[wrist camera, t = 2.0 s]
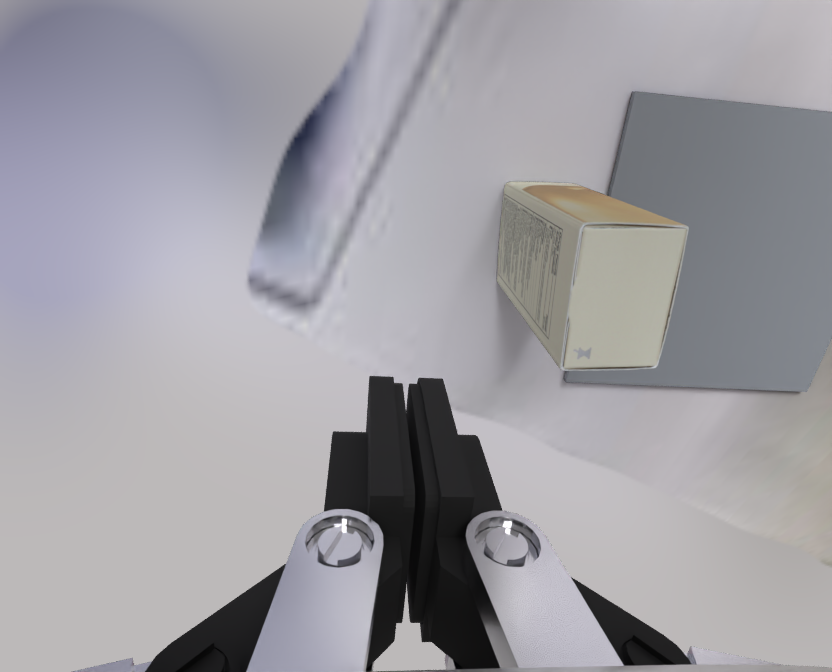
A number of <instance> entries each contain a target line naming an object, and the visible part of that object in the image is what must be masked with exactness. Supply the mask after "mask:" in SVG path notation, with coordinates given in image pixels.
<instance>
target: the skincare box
mask: <svg viewBox="0 0 832 672" xmlns="http://www.w3.org/2000/svg"><path fill="white" fill-rule="evenodd" d="M688 231H689V227H688V226H686V225H684V224H681V223H679V222H676V221H673V220H670V219H668V218H665V217H662V216H659V215H657V214H654V213H652V212H649V211H646V210H644V209H641V208H638V207H636V206H633V205H631V204H628V203H625V202H623V201H620V200H617V199H615V198H612V197H609V196H607V195H604V194H601V193H598V192H596V191H593V190H590V189H588V188H585V187H582V186H580V185H577V184H574V183H556V182H508V183H506V184H505V187H504V195H503V204H502V214H501V224H500V237H499V251H498V269H497V282H498V284H499V285H500V286H501V288H502V289H503V291H504V292H505V293H506V295H507V296H508V297H509V299H510V300H511V302H512V303H513V304H514V306H515V307H516V309H517V310H518V311H519V313H520V314H521V315H522V317H523V318H524V320H525V321H526V322H527V324H528V325H529V327H530V328H531V329H532V331H533V332H534V334H535V335H536V336H537V338H538V339H539V340H540V342H541V343H542V345H543V346H544V347H545V349H546V350H547V351H548V353H549V354H550V356H551V357H552V358H553V360H554V361H555V363H556V364H557V365H558V367H559V368H560V369H561V370H562V371H573V370H578V371H586V370H593V371H598V370H637V369H652V368H656V367H657V366H658V363H659V359H660V356H661V353H662V349H663V345H664V342H665V338H666V334H667V330H668V327H669V322H670V318H671V313H672V309H673V305H674V300H675V295H676V291H677V286H678V281H679V276H680V272H681V267H682V262H683V256H684V252H685V246H686V241H687V236H688Z"/></svg>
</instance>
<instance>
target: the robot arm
mask: <svg viewBox="0 0 832 672" xmlns="http://www.w3.org/2000/svg"><path fill="white" fill-rule="evenodd" d="M406 584H407V591H408V604H409V616H410V622H411V623H420V627H421V637H422V642H432V643H434V644H435V645H436V646H437V647H438V648H440V649H441V650H442V651H443V652H444V653H445V654H446V657H445V664H446V670H421V671H420V670H416V671H380V672H832V668H828V667H814V666H793V665H792V666H791V665H781V664H776V663H771V662H766V661H761V660H756V659H751V658H746V657H742V656H737V655H732V654H726V653H722V652H716V651H712V650H707V649H702V648H697V647H692V646H691V647H690V649H689V651H688V653H684V652H682V651H681V649H680V648H679V647H678V646H677V645H676V644H674V643H673V642H672V641H670V640H669V639H668V638H667V637H665V636H664V635H662V634H661V633H659V632H658V631H656V630H655V629H653V628H651V627H650V626H648V625H647V624H645V623H643V622H642V621H640V620H639V619H637V618H636V617H634V616H632V615H631V614H629V613H628V612H626V611H624V610H623V609H621V608H620V607H618V606H616V605H615V604H613V603H612V602H610V601H608V600H607V599H605V598H604V597H602V596H600V595H599V594H597V593H596V592H594V591H592V590H591V589H589V588H588V587H586V586H584V585H583V584H581V583H580V582H578V581H577V580H575V579H573V578H571V577H570V575H569V573H568V572H567V570H566V569H565V567H564V565H563V564H562V562H561V560H560V558H559V557H558V555H557V553H556V552H555V550H554V549H553V547H552V545H551V543H550V542H549V540H548V539H547V537H546V535H545V534H544V533H543V532H542V530H541V529H540V528H539V527H538V526H537V525H536V524H534V523H533V522H532V521H530V520H529V519H527V518H525V517H523V516H520V515H519V514H516V513H511V512H507V511H502V508H501V505H500V502H499V499H498V496H497V493H496V490H495V486H494V484H493V480H492V477H491V474H490V472H489V468H488V465H487V462H486V459H485V456H484V453H483V450H482V447H481V444H480V441H479V439H478V437H477V436H476V435H458V434H457V430H456V426H455V422H454V419H453V415H452V411H451V407H450V404H449V400H448V396H447V393H446V389H445V385H444V381H443V379H434V378H419V379H418V382H417V384H409V388H408V399H407V410H406V409H405V401H404V392H403V384H402V383H394V378H393V377H381V376H370V377H369V393H368V409H367V426H366V432H333V435H332V443H331V452H330V462H329V471H328V480H327V489H326V498H325V507H324V512H322V513H320V514H318V515H316V516H313V517H312V518H311V519H309V520H308V521H307V522H306V523H305V524H303V526H302V528H301V529H300V531H299V532H298V534H297V536H296V539H295V542H294V544H293V547H292V550H291V553H290V555H289V558H288V561H287V563H286V564H285V565H283V566H282V567H281V568H279V569H278V570H276V571H275V572H273V573H272V574H270V575H269V576H268V577H266V578H265V579H263V580H262V581H260V582H259V583H257V584H256V585H254V586H253V587H252V588H250V589H249V590H247V591H246V592H244V593H243V594H241V595H240V596H239V597H237V598H236V599H234V600H233V601H231V602H230V603H228V604H227V605H226V606H224V607H223V608H221V609H220V610H218V611H217V612H215V613H214V614H213V615H211V616H210V617H208V618H207V619H205V620H204V621H202V622H201V623H200V624H198V625H197V626H195V627H194V628H192V629H191V630H189V631H188V632H187V633H185V634H184V635H182V636H181V637H179V638H178V639H177V640H175V641H173V642H172V643H171V644H170V645H168V646H167V647H166V648H165V649H164V650H163V651H161V652H160V653H159V654H158V655H157V656H156V657H155V659H154V660H153V661H152V662H147V663H143V664H139V665H134V663H133V658H130V659H126V660H121V661H116V662H112V663H108V664H103V665H99V666H94V667H90V668H86V669H81V670H77V671H73V672H373V664H374V661H375V660H376V659H377V658H378V657H379V656H380V655H381V654H382V653H383V652H384V651H385V650H386V649H387V648H388V647H389V646H390V645H391V644H392V643H393V642H394V639H395V629H396V623H402V619H403V611H404V602H405V593H406ZM378 672H379V671H378Z"/></svg>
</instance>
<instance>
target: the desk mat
mask: <svg viewBox="0 0 832 672" xmlns="http://www.w3.org/2000/svg"><path fill="white" fill-rule="evenodd" d="M608 196H609V197H612V198H615V199H617V200H620V201H623V202H625V203H628V204H631V205H633V206H636V207H638V208H641V209H644V210H646V211H649V212H652V213H654V214H657V215H659V216H662V217H665V218H668V219H670V220H673V221H676V222H679V223H681V224H684V225H686V226H688V227H689V231H688V236H687V241H686V246H685V252H684V256H683V262H682V267H681V272H680V276H679V281H678V286H677V291H676V295H675V300H674V305H673V309H672V313H671V318H670V322H669V327H668V330H667V334H666V338H665V342H664V345H663V349H662V353H661V356H660V359H659V363H658V366H657V367H656V368H652V369H637V370H598V371H593V370H586V371H578V370H573V371H566V373H565V378H564V380H565V381H566V382H575V383H600V384H625V385H650V386H675V387H700V388H724V389H749V390H774V391H799V392H807V391H808V388H809V386H810V384H811V382H812V380H813V378H814V375H815V373H816V371H817V369H818V367H819V365H820V363H821V360H822V358H823V356H824V354H825V352H826V350H827V347H828V345H829V343H830V341H831V339H832V112H827V111H818V110H808V109H798V108H789V107H779V106H770V105H760V104H751V103H741V102H731V101H722V100H712V99H703V98H693V97H683V96H674V95H664V94H655V93H645V92H632V95H631V99H630V104H629V108H628V112H627V116H626V121H625V125H624V129H623V133H622V137H621V142H620V146H619V150H618V154H617V158H616V163H615V167H614V171H613V175H612V180H611V184H610V188H609V192H608Z"/></svg>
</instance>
